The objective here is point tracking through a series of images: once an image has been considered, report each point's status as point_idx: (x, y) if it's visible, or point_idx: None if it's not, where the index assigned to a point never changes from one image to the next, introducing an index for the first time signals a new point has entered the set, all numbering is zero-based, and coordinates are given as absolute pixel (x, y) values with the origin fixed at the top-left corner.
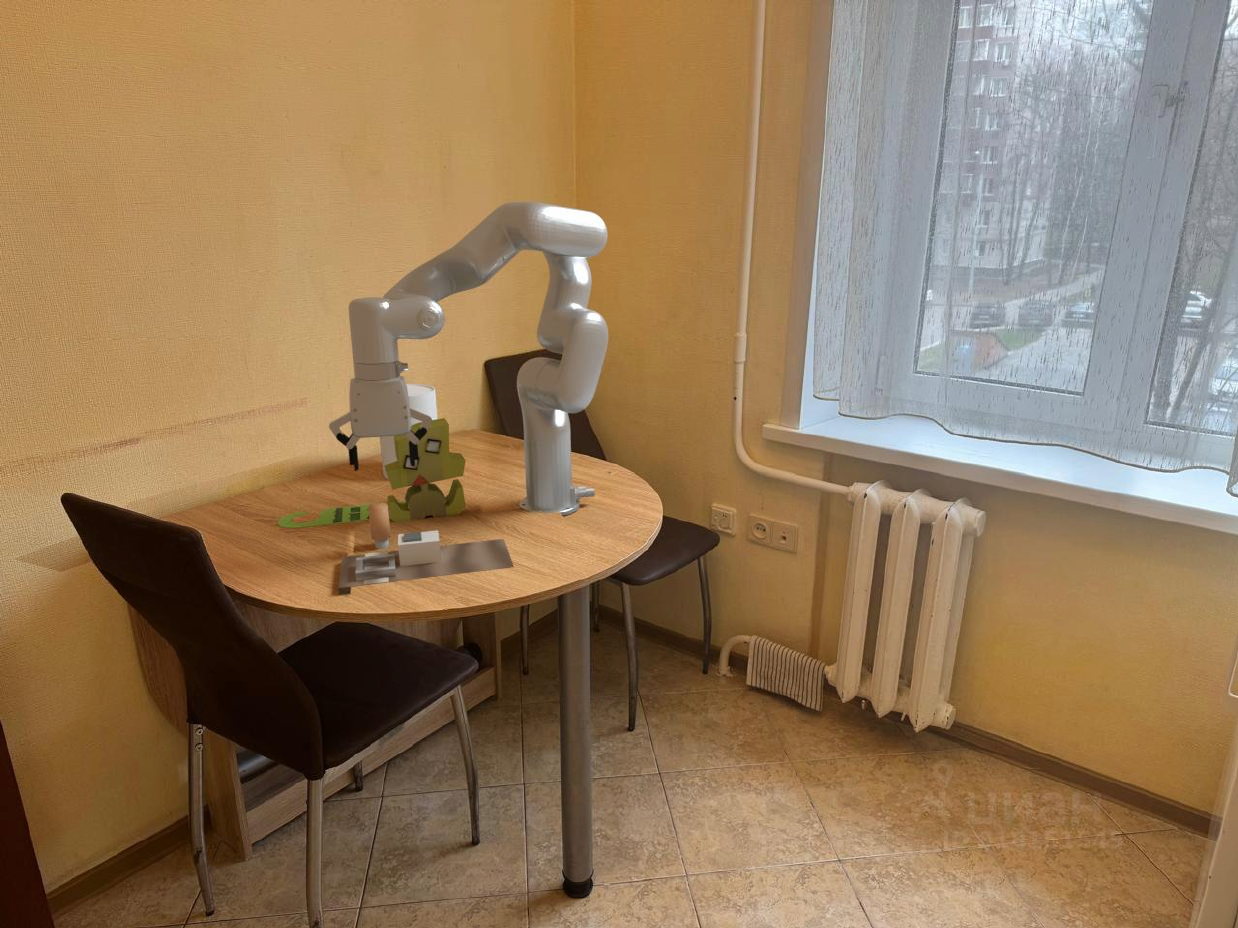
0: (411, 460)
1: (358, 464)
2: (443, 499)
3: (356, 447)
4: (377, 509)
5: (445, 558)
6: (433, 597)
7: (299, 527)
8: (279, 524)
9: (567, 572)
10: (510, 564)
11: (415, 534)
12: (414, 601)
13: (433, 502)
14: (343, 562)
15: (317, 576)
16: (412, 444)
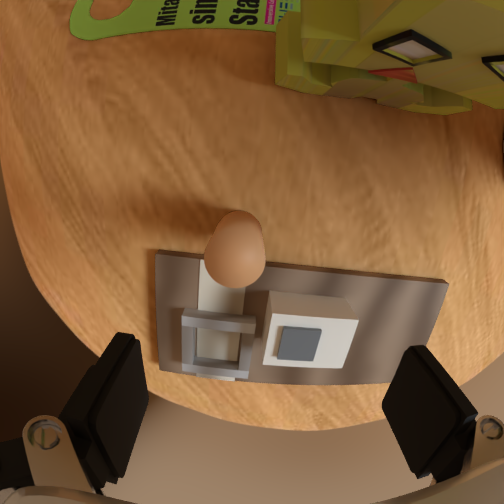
0: (391, 422)
1: (137, 345)
2: (419, 99)
3: (108, 458)
4: (230, 285)
5: None
6: (289, 408)
7: (95, 39)
8: (70, 24)
9: None
10: None
11: (307, 340)
12: (263, 410)
13: (395, 95)
14: (159, 282)
15: (122, 289)
16: (429, 471)
